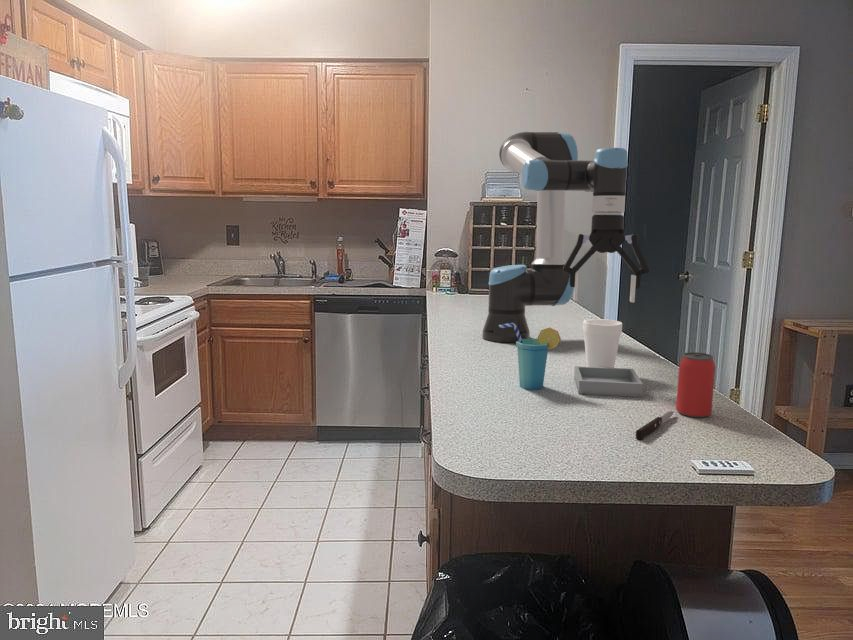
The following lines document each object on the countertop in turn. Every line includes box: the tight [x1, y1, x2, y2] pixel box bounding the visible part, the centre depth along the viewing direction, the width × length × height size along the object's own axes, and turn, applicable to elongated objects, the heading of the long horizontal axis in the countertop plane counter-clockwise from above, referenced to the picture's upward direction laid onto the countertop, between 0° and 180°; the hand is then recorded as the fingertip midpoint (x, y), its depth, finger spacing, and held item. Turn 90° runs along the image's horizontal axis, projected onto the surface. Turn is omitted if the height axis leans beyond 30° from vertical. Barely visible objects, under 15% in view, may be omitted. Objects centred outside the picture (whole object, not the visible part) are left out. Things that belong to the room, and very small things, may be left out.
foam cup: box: [582, 318, 623, 368], centre depth 154 cm, size 10×9×13 cm
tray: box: [573, 365, 644, 398], centre depth 142 cm, size 14×14×3 cm
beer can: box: [675, 351, 716, 419], centre depth 123 cm, size 7×7×12 cm
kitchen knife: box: [635, 411, 674, 441], centre depth 115 cm, size 18×1×2 cm, turn 139°
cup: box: [499, 323, 562, 391], centre depth 141 cm, size 14×8×15 cm, turn 87°
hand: (603, 301), depth 152 cm, fingers open, 13 cm apart
